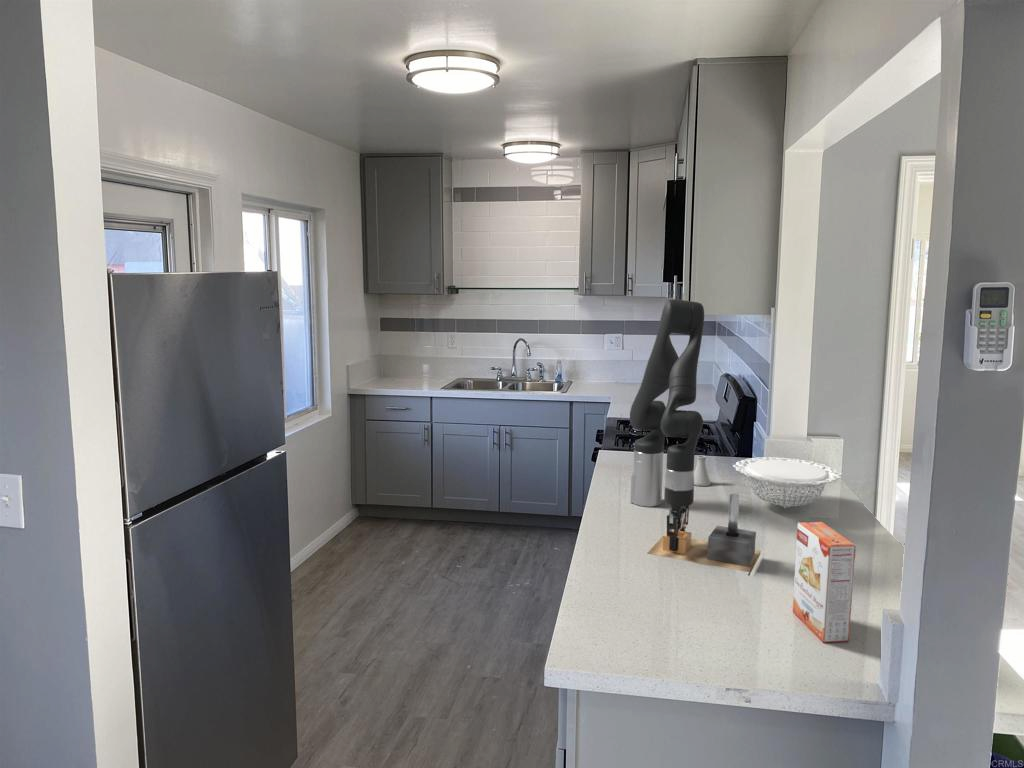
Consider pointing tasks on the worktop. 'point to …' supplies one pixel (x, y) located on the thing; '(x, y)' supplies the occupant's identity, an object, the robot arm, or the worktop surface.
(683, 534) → the block
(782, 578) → the worktop surface
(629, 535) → the worktop surface
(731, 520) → the steel shaft
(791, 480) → the white openwork bowl
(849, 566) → the cracker box
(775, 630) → the worktop surface
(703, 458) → the flask
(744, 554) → the bearing block
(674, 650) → the worktop surface
